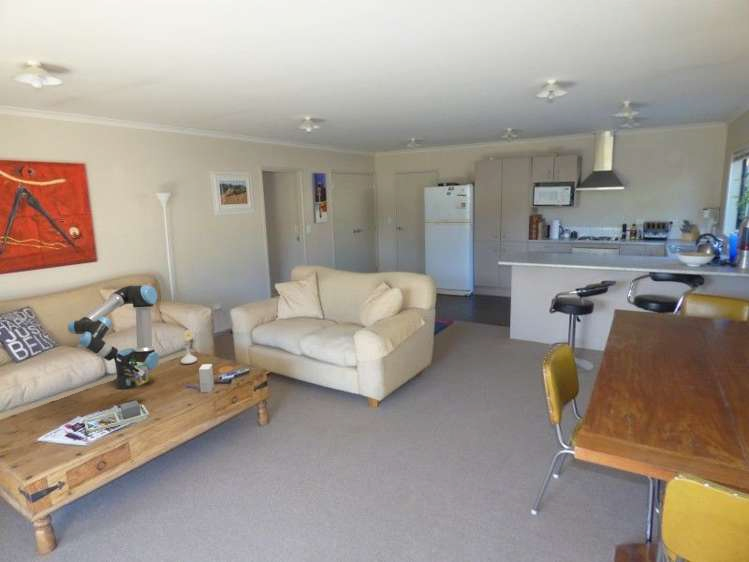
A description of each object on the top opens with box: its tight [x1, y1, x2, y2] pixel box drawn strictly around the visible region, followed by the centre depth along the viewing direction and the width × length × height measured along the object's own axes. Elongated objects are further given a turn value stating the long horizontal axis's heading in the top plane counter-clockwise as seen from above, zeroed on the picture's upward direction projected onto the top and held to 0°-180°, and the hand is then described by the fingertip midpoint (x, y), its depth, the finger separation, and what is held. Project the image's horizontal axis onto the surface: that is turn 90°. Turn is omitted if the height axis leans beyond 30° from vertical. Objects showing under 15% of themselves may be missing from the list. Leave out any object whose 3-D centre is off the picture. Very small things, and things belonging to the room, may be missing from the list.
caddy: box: [83, 403, 150, 435], centre depth 248 cm, size 29×15×3 cm, turn 128°
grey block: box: [120, 400, 141, 420], centre depth 251 cm, size 8×8×7 cm
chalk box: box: [123, 359, 150, 388], centre depth 266 cm, size 9×9×15 cm
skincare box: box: [198, 363, 215, 394], centre depth 285 cm, size 8×7×16 cm
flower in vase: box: [180, 329, 198, 365], centre depth 333 cm, size 13×11×25 cm
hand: (140, 370), depth 267 cm, fingers closed on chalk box, 12 cm apart
